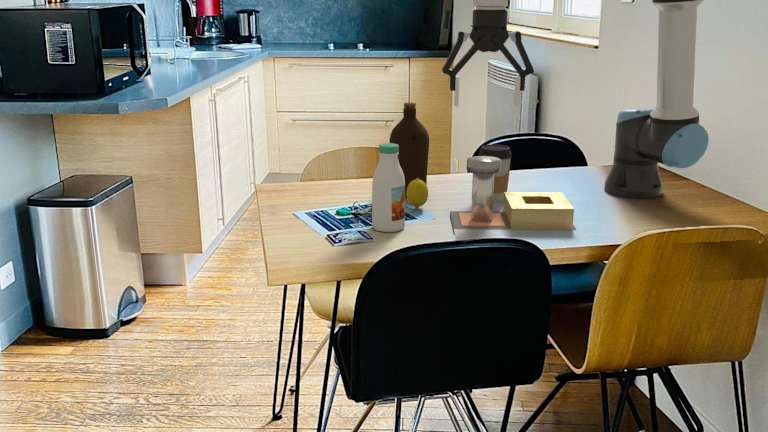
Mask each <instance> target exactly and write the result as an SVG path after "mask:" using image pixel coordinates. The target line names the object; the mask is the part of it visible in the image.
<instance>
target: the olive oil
mask: <svg viewBox="0 0 768 432" xmlns="http://www.w3.org/2000/svg"><path fill="white" fill-rule="evenodd" d="M416 105H417V104H416V102H412V101H411V102H403V109H402V110H403V114H402V115H403V116H402V118H401V120H400V121H399V122H398V123H397V124H396V125H395V126H394V127H393V128H392V130H391V131H390V132H391V133H390V135H389V143H394V144H397V145H399V152H398V153H399V154H398V161H399V164H400V167H401V169H402V171H403V174H404V178H405V200H407V196H406V192H407V187H408V185H409V183H410V182H411V181H413V180H415V179H416V178H419V179H420V180H422V181H423V182H424V183H425V184H426V185H427V181H428V179H427V178H428V166H429V165H428V164H429V154H430V153H429V151H430V136H429V135H430V134H429V132H428V130H427V128H426V127H425V126H424V125H423V124H422V122H421V121H420V120H419V119H418V118H417V107H416ZM427 186H428V185H427Z"/></svg>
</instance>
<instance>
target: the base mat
mask: <svg viewBox="0 0 768 432" xmlns="http://www.w3.org/2000/svg"><path fill="white" fill-rule="evenodd" d="M449 219H450V220H449V221H450V224H451V228H452V233H453V236H455V235H456V234H455V230H492V231H493V230H494V231H496V230H500V231H501V230H504V231H505V230H506V231H507V230H510V231H511V230H513V231H515V230H516V231H517V229H510V226H509V224H508V222H507V220H506V217H505V215H504V213H503V211H493V214H492V221H490V222H475V221H473V220H471V211H468V210H467V211H466V210H465V211H464V210H459V211H458V210H450V211H449ZM571 231H577V228H576V227H575V225H574V224H573V229H572V230H571Z"/></svg>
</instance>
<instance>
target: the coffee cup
mask: <svg viewBox="0 0 768 432" xmlns="http://www.w3.org/2000/svg"><path fill="white" fill-rule="evenodd" d="M478 156H490V157H496V158H499V159H501V160H502V164H501V172H499V173H495V174H494V194H493V203H494V202H495V203H497V202H498V203H499V202H504V192H508V188H509V178H510V169H511V160H512V159H511V158H512V156H513V155H512V151H511V147H510V146H508V145H503V144H486V145H485V144H484V145H482V146H481V147H480V150H479V155H478Z"/></svg>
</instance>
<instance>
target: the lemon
mask: <svg viewBox="0 0 768 432" xmlns="http://www.w3.org/2000/svg"><path fill="white" fill-rule="evenodd" d="M406 196H407V199H406V201H407V202H408V204H410V206H413V207H414V208H415V209H419V208H420V207H422V206H424V205H425V204H426V203H427V201H428V197H429V190H428V185H426V184H425V183H424V182H423V181H422V180H420V179H419V178H416V179H415V180H413V181H411V182H410V183H409V185H408V187H407V192H406Z"/></svg>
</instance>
